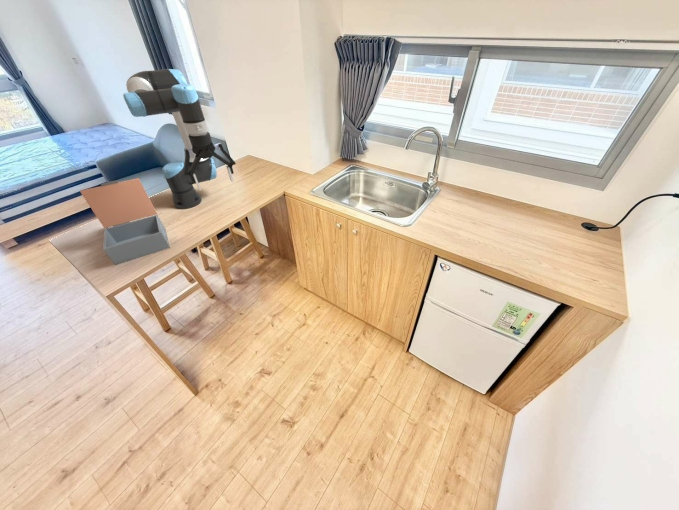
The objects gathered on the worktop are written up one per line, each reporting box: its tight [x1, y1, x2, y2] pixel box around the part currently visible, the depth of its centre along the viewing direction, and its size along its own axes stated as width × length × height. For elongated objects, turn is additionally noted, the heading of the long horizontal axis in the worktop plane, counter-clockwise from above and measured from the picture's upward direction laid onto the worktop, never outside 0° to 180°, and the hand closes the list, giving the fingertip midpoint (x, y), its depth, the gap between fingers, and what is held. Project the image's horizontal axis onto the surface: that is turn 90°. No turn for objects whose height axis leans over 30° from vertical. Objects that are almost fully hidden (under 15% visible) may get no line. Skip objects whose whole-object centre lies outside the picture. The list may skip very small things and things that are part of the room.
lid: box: [79, 178, 158, 229], centre depth 122 cm, size 19×22×1 cm
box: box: [103, 214, 171, 266], centre depth 124 cm, size 18×22×9 cm
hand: (216, 185), depth 113 cm, fingers open, 13 cm apart
